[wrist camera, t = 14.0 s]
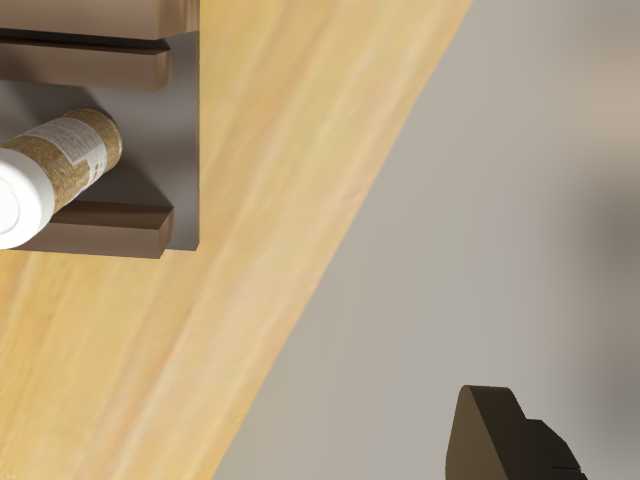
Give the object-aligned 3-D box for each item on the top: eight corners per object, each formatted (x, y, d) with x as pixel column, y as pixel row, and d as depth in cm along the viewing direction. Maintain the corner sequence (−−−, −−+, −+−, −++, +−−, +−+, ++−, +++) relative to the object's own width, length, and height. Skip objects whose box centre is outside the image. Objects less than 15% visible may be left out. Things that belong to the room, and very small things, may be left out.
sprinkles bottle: (97, 186, 40) (2, 270, 28) (41, 140, 39) (-85, 207, 26) (139, 139, 39) (58, 205, 26) (82, 90, 38) (-30, 135, 25)
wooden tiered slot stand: (-26, -23, 36) (-174, -35, 25) (199, -4, 37) (152, -8, 26) (7, 230, 43) (-99, 310, 32) (199, 243, 43) (161, 325, 32)
